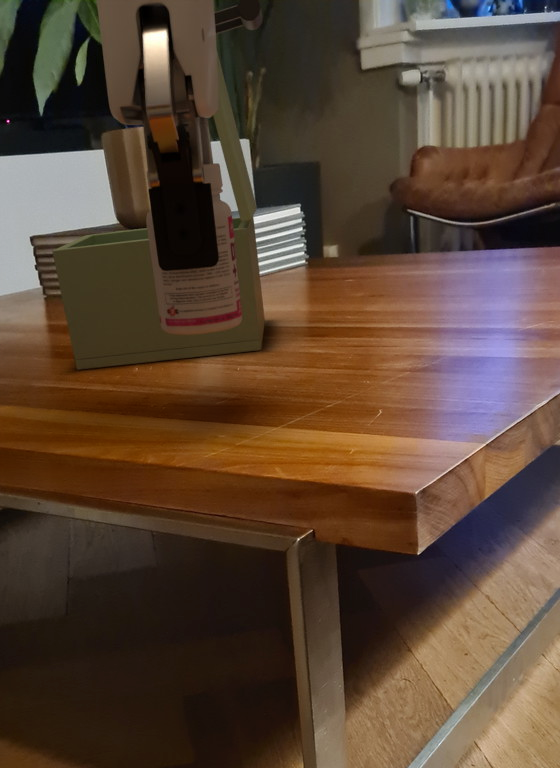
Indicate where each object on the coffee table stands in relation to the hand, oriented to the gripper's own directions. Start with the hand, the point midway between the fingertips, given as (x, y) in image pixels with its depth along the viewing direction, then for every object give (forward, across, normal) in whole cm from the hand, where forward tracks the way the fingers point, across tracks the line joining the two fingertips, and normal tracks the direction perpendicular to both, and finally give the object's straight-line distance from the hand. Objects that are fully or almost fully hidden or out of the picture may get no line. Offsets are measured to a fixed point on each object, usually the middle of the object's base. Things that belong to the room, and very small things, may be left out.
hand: (194, 257), depth 51 cm
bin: (+9, -24, -5) cm, 26 cm away
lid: (-8, -24, +1) cm, 25 cm away
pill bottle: (+4, 0, 0) cm, 4 cm away
